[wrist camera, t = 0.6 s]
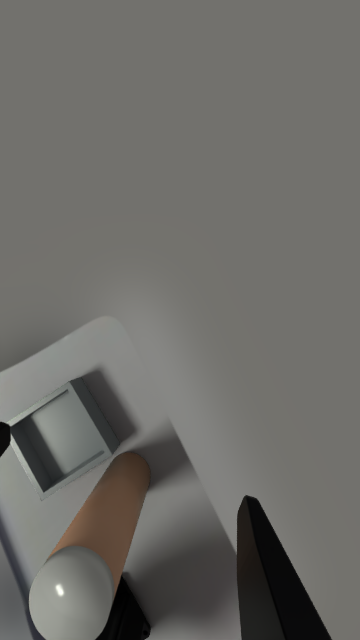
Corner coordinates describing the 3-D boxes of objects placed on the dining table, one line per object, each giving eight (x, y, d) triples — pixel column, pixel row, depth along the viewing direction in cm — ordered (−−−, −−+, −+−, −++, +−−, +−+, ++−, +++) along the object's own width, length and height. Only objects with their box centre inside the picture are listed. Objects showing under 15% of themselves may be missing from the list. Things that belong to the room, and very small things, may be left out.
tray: (56, 485, 26) (41, 501, 24) (18, 418, 27) (0, 426, 25) (120, 443, 26) (112, 454, 24) (80, 376, 27) (69, 381, 25)
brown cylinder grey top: (122, 506, 26) (55, 665, 13) (99, 467, 26) (14, 585, 14) (159, 482, 26) (125, 620, 13) (135, 443, 26) (82, 541, 14)
